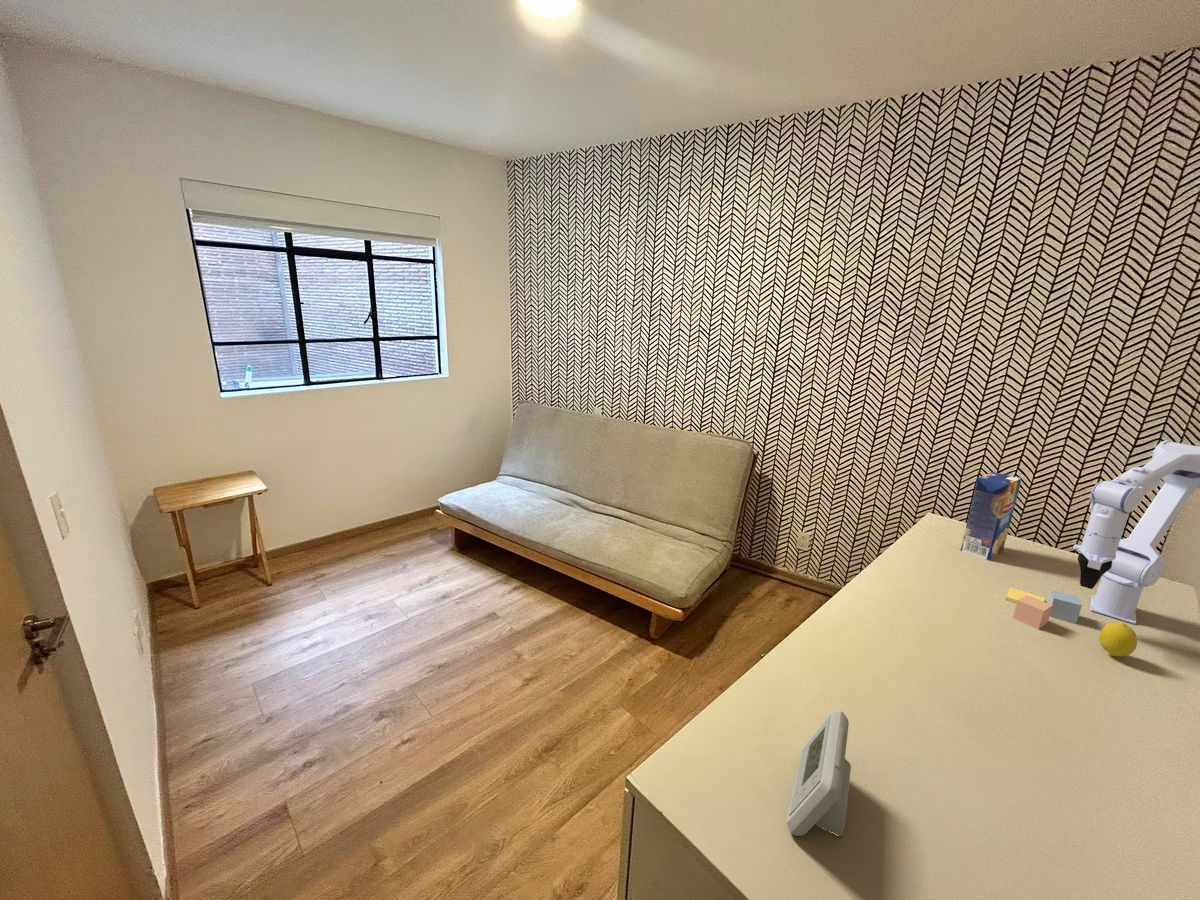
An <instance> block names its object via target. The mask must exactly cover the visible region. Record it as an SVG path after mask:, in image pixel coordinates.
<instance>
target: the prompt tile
mask: <svg viewBox="0 0 1200 900" xmlns="http://www.w3.org/2000/svg"><path fill="white" fill-rule="evenodd" d="M1026 595H1028V596H1031V597H1033V598H1036V599H1038V600H1041V601H1043V602H1045V597H1043V596H1040V595H1037V594H1033V593H1031V592H1027V591H1024V590H1022V589H1021V590H1020V589H1017V588H1014V587H1011V586H1010V587H1009V589H1008V592H1007V594H1006V596H1005V597H1006V598H1005V600H1006V601H1009V602H1012V603H1016V604H1017V601H1018V600H1019V599H1021V598H1023V597H1024V596H1026Z"/></svg>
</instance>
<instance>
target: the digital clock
mask: <svg viewBox="0 0 1200 900" xmlns="http://www.w3.org/2000/svg"><path fill="white" fill-rule="evenodd" d="M848 732H849V720H848V718H847V716H846V714H845V713H844V711H842V710H832V711H831V712H830V713H829V714H828V715H827V717H826V718H825V719H824V720H823V722H822V723H821V724H820V725H819V726H818V728H817V729H816V730H814V732H813V734H812V735H811V736H810V737H809V739H808V740H807V741H806V743H805V744H804V745H803V746H802V748H801V752H800V756H799V759H798V765H797V769H796V772H795V773H796V774H795V778H794V783H793V786H792V792H791V796H790V801H789V806H788V810H787V815H786V821H785V823H786V825H787V827H788V830H789V833H790V834H792V835H793V836H797V837H802V836H805V835H806V834H807V833H808V832H809V831H810V830H811V829H812V828H813V827H814V826H815V825H817V826H819V827H821V828H824V829H826V830H828V831H830V832H833V833H835V834H837V835H839V836H842V837H843V835H844V831H845V827H846V822H847V821H846V820H847V813H848V812H847V811H848V804H849V803H848V801H849V791H850V781H851V773H852V772H851V771H852V766H851V763H850V762H849V760H847V759H846V753H847V752H846V751H847V750H846V749H847V741H848V735H849V734H848ZM814 824H815V825H814ZM817 826H816V827H817ZM819 827H818V828H819ZM821 828H820V829H821Z"/></svg>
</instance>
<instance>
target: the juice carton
mask: <svg viewBox="0 0 1200 900" xmlns="http://www.w3.org/2000/svg"><path fill="white" fill-rule="evenodd" d="M1022 479H1023V478H1022V477H1017V476H1013V475H1010V474H1009V475H1008V474H1004V473H1000V472H994V471H990V472H989V473H986V474H984V475H981V476H978V477H977V479H976V483H975V487H974V492H973V496H972V501H971V505H970V508H969V513H968V518H967V521H966V525H965V530H964V534H963V538H962V543H961V546H960V552H963V553H966V554H968V555H972V556H975V557H978V558H979V559H984V560H986V561H990V560H991V559H993V558H995V557H996V556H998V555H999V554H1000V553H1002V552H1003V551H1004V549H1005V548H1004V547H1005V543H1006V541H1007V536H1008V533H1009V529H1010V526H1011V522H1012V517H1013V514H1014V510H1015V506H1016V503H1017V498H1018V495H1019V491H1020V488H1021V484H1022Z"/></svg>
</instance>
